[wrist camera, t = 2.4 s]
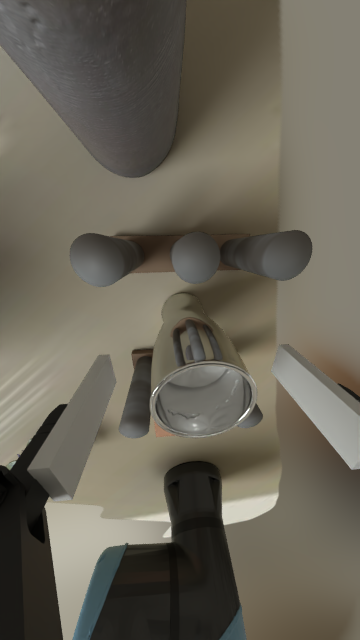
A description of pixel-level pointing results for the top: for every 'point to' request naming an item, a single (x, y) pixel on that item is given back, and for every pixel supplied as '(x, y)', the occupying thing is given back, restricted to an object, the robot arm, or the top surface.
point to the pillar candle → (104, 71)
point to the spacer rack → (191, 266)
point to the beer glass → (197, 374)
